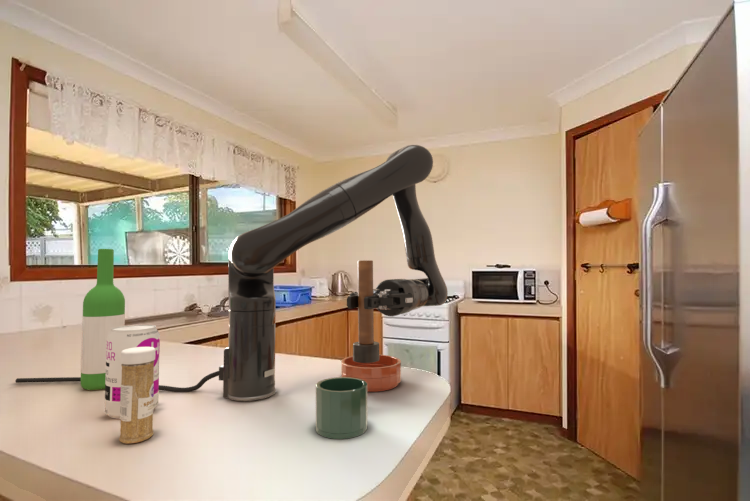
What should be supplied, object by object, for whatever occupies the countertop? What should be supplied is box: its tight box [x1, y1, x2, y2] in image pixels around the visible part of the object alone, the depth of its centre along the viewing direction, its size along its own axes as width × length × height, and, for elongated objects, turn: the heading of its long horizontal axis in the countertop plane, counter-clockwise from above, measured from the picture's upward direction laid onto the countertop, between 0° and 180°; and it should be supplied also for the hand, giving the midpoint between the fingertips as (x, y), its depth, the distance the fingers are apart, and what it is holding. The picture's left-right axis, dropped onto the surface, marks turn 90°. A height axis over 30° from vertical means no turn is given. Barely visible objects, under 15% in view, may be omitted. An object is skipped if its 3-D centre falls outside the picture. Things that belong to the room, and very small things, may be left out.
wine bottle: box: [80, 248, 126, 391], centre depth 87 cm, size 8×8×30 cm
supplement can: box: [104, 324, 161, 420], centre depth 71 cm, size 8×8×15 cm
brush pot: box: [315, 376, 368, 440], centre depth 64 cm, size 8×8×7 cm
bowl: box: [340, 354, 402, 393], centre depth 88 cm, size 13×13×5 cm
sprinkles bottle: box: [118, 347, 155, 445], centre depth 60 cm, size 5×5×13 cm
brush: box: [352, 259, 380, 363], centre depth 72 cm, size 5×5×18 cm
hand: (357, 302), depth 70 cm, fingers closed on brush, 3 cm apart
